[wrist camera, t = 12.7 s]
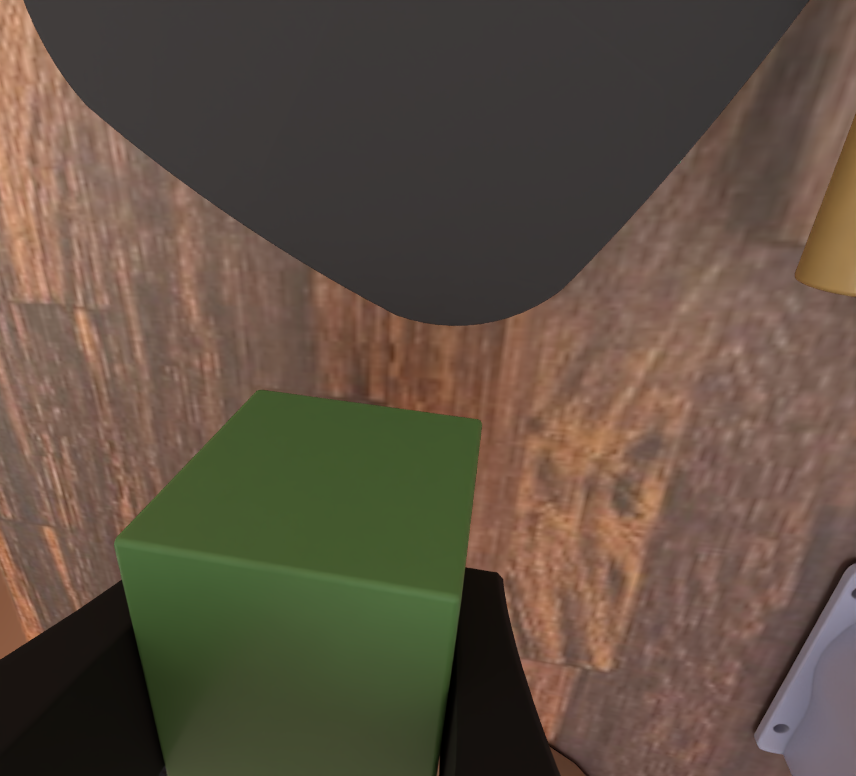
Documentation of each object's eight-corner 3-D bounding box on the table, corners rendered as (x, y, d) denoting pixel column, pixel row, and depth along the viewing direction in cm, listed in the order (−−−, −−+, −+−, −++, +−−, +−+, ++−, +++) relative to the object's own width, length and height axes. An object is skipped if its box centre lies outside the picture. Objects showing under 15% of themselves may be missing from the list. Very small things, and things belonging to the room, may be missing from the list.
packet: (450, 657, 12) (422, 881, 9) (274, 625, 13) (176, 827, 9) (482, 418, 9) (461, 600, 6) (257, 387, 10) (109, 540, 6)
